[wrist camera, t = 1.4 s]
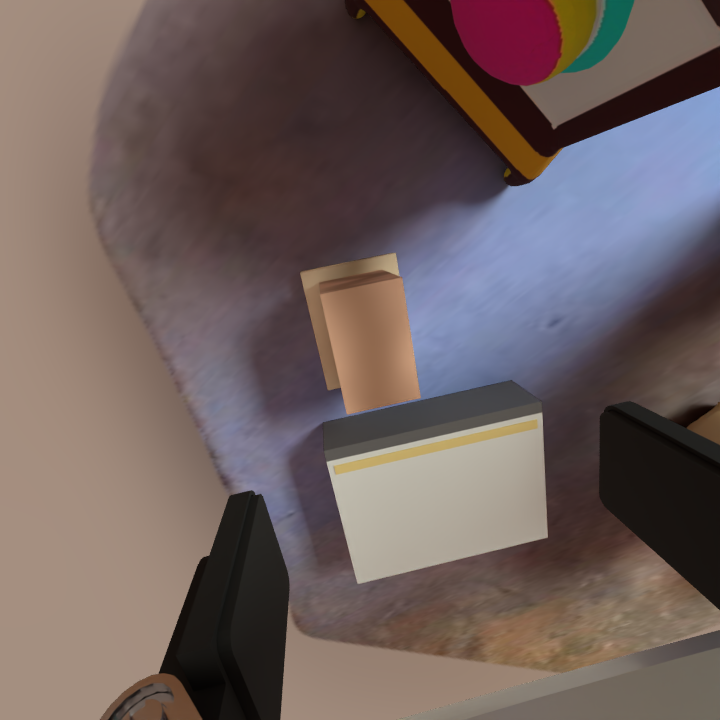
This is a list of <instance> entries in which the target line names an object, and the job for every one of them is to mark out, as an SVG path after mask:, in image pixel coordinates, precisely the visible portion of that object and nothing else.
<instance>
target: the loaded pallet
mask: <svg viewBox="0 0 720 720" xmlns="http://www.w3.org/2000/svg"><path fill="white" fill-rule="evenodd" d="M300 275H301V279H302V283H303V288H304V292H305V296H306V300H307V304H308V309H309V313H310V317H311V321H312V326H313V330H314V334H315V338H316V342H317V347H318V351H319V355H320V359H321V363H322V368H323V372H324V376H325V380H326V385H327V389H328V390H332V389H337V388H341V390H342V395H343V399H344V403H345V408H346V412H347V414H351V413H356V412H360V411H365V410H369V409H374V408H378V407H383V406H387V405H391V404H396V403H400V402H405V401H409V400H414V399H418V398H421V397H420V390H419V384H418V377H417V371H416V364H415V358H414V352H413V345H412V339H411V332H410V326H409V319H408V313H407V306H406V300H405V293H404V287H403V280H402V277H400V276H399V271H398V264H397V258H396V253H388V254H384V255H379V256H374V257H369V258H364V259H359V260H354V261H349V262H345V263H340V264H335V265H330V266H325V267H320V268H315V269H311V270H306V271H301V272H300Z"/></svg>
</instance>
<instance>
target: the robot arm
mask: <svg viewBox="0 0 720 720" xmlns="http://www.w3.org/2000/svg"><path fill="white" fill-rule="evenodd" d="M599 494H600V499H601V501H602V503H603V504H604V506H605V507H606V508H607V509H608V510H609V511H610V512H611V513H612V514H614V515H615V516H616V517H617V518H618V519H619V520H620V521H621V522H622V523H624V524H625V525H626V526H627V527H628V528H629V529H630V530H631V531H632V532H634V533H635V534H636V535H637V536H638V537H639V538H640V539H641V540H642V541H644V542H645V543H646V544H647V545H648V546H649V547H650V548H651V549H652V550H654V551H655V552H656V553H657V554H658V555H659V556H660V557H661V558H662V559H664V560H665V561H666V562H667V563H668V564H669V565H670V566H671V567H673V568H674V569H675V570H676V571H677V572H678V573H679V574H680V575H681V576H683V577H684V578H685V579H686V580H687V581H688V582H689V583H690V584H691V585H693V586H694V587H695V588H696V589H697V590H698V591H699V592H700V593H701V594H703V595H704V596H705V597H706V598H707V599H708V600H709V601H710V602H711V603H713V604H714V605H715V606H716V607H717V608H718V609H719V610H720V445H719V444H717V443H715V442H713V441H711V440H709V439H707V438H705V437H703V436H701V435H699V434H697V433H695V432H693V431H691V430H689V429H687V428H685V427H683V426H680V425H678V424H676V423H674V422H672V421H670V420H668V419H666V418H664V417H662V416H660V415H658V414H656V413H654V412H652V411H650V410H648V409H646V408H644V407H642V406H640V405H638V404H636V403H634V402H630V401H629V402H623V403H619V404H615V405H610V406H608V407H606V408H605V410H604V413H602V414H601V416H600V473H599ZM288 601H289V576H288V572H287V568H286V565H285V562H284V559H283V556H282V553H281V550H280V547H279V544H278V541H277V538H276V535H275V532H274V529H273V526H272V522H271V519H270V516H269V513H268V510H267V507H266V504H265V501H264V498H263V496H262V495H261V494H259V495H255V493H254V491H252V490H251V491H247V492H243V493H238V494H234V495H231V496H230V497H229V499H228V502H227V505H226V508H225V511H224V514H223V517H222V519H221V523H220V525H219V529H218V532H217V535H216V538H215V540H214V544H213V547H212V549H211V552H210V555H209V556H206V557H203V558H202V559H201V560H200V562H199V564H198V566H197V569H196V572H195V575H194V577H193V580H192V583H191V585H190V588H189V591H188V594H187V597H186V599H185V602H184V605H183V608H182V610H181V613H180V616H179V619H178V621H177V624H176V627H175V630H174V632H173V635H172V638H171V641H170V643H169V647H168V649H167V652H166V655H165V657H164V660H163V663H162V666H161V668H160V671H159V674H156V675H151V676H149V677H147V678H145V679H142V680H140V681H138V682H137V683H135V684H134V685H133V686H131V687H130V688H128V689H127V690H126V691H124V692H123V693H122V694H121V695H120V696H119V697H118V698H117V699H116V700H115V701H114V702H113V703H112V704H111V705H110V707H109V708H108V709H107V710H106V712H105V713H104V714H103V716H102V717H101V719H100V720H280V714H281V701H282V686H283V673H284V658H285V643H286V630H287V615H288ZM398 720H720V630H718V631H715V632H711V633H707V634H704V635H700V636H696V637H692V638H689V639H685V640H681V641H678V642H674V643H670V644H666V645H663V646H659V647H655V648H652V649H648V650H645V651H641V652H637V653H634V654H630V655H626V656H623V657H619V658H615V659H612V660H608V661H604V662H601V663H597V664H594V665H590V666H586V667H583V668H579V669H576V670H572V671H568V672H565V673H561V674H557V675H554V676H551V677H547V678H543V679H539V680H536V681H532V682H529V683H525V684H521V685H518V686H514V687H511V688H507V689H504V690H500V691H497V692H494V693H490V694H486V695H483V696H479V697H476V698H472V699H468V700H465V701H461V702H458V703H455V704H451V705H447V706H444V707H440V708H437V709H433V710H430V711H426V712H422V713H419V714H415V715H412V716H408V717H405V718H402V719H398Z"/></svg>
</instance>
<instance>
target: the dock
mask: <svg viewBox="0 0 720 720" xmlns="http://www.w3.org/2000/svg"><path fill="white" fill-rule="evenodd" d="M323 442H324V454H325V458H326V462H327V466H328V470H329V474H330V478H331V481H332V485H333V489H334V493H335V497H336V501H337V505H338V509H339V513H340V517H341V521H342V525H343V529H344V533H345V536H346V540H347V544H348V548H349V552H350V556H351V560H352V564H353V568H354V572H355V576H356V580H357V584H360V583H364V582H368V581H372V580H376V579H381V578H385V577H389V576H393V575H397V574H401V573H405V572H409V571H413V570H417V569H421V568H425V567H429V566H434V565H438V564H442V563H446V562H450V561H454V560H458V559H462V558H466V557H470V556H474V555H478V554H483V553H487V552H491V551H495V550H499V549H503V548H507V547H511V546H515V545H519V544H523V543H527V542H531V541H536V540H540V539H544V538H548V531H547V509H546V486H545V464H544V442H543V419H542V401H540V400H539V399H538V398H536V397H535V396H533V395H532V394H530V393H529V392H528V391H526V390H525V389H523V388H522V387H520V386H519V385H518V384H516V383H515V382H513V381H512V380H510V381H506V382H501V383H497V384H492V385H488V386H484V387H479V388H475V389H470V390H466V391H461V392H457V393H452V394H448V395H443V396H439V397H434V398H430V399H426V400H421V401H417V402H412V403H408V404H403V405H399V406H394V407H390V408H385V409H381V410H377V411H372V412H368V413H363V414H359V415H354V416H350V417H345V418H341V419H336V420H332V421H328V422H323Z"/></svg>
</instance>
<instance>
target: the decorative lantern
mask: <svg viewBox="0 0 720 720" xmlns="http://www.w3.org/2000/svg"><path fill="white" fill-rule="evenodd" d="M345 5H346V9H347V11H348V13H349V15H350V16H351V17H352V18H354V19H358V18H361V17H362V16H364V15H365V13H367V14H368V15H369V16H371V17H372V19H373V20H374V21H375V22H376V23H377V24H378V25H379V26H380V27H381V28H382V29H383V31H384V32H385V33H386V34H387V35H388V36H389V37H390V38H391V39H392V40H393V41H394V43H395V44H396V45H397V46H398V47H399V48H400V49H401V50H402V51H403V52H404V54H405V55H406V56H407V57H408V58H409V59H410V60H411V61H412V62H413V63H414V64H415V66H416V67H417V68H418V69H419V70H420V71H421V72H422V73H423V74H424V75H425V77H426V78H427V79H428V80H429V81H430V82H431V83H432V84H433V85H434V86H435V87H436V89H437V90H438V91H439V92H440V93H441V94H442V95H443V96H444V97H445V98H446V99H447V101H448V102H449V103H450V104H451V105H452V106H453V107H454V108H455V109H456V110H457V112H458V113H459V114H460V115H461V116H462V117H463V118H464V119H465V120H466V121H467V122H468V124H469V125H470V126H471V127H472V128H473V129H474V130H475V131H476V132H477V133H478V135H479V136H480V137H481V138H482V139H483V140H484V141H485V142H486V143H487V144H488V145H489V147H490V148H491V149H492V150H493V151H494V152H495V153H496V154H497V155H498V156H499V157H500V159H501V160H502V161H503V162H504V163H505V164H506V166H507V167H508V168H507V169H506V171H505V173H504V181H505V182H506V184H508V185H510V186H520V185H524V184H527V183H530V182H531V181H533V180H534V179H535V178H537V177H538V176H539V175H540V174H541V173H542V172H543V171H544V170H545V168H546V167H547V166H548V165H549V164H550V163H551V161H552V160H553V159H554V158H555V157H556V156H557V154H558V153H559V152H560V151H561V150H562V149H563V148H564V147H566V146H569V145H571V144H574V143H576V142H579V141H582V140H584V139H587V138H589V137H592V136H594V135H597V134H599V133H602V132H605V131H607V130H610V129H612V128H615V127H617V126H620V125H622V124H625V123H628V122H630V121H633V120H635V119H638V118H640V117H643V116H645V115H648V114H651V113H653V112H656V111H658V110H661V109H663V108H666V107H668V106H671V105H674V104H676V103H679V102H681V101H684V100H686V99H689V98H691V97H694V96H697V95H699V94H702V93H704V92H707V91H709V90H712V89H714V88H717V87H720V0H345Z"/></svg>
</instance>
